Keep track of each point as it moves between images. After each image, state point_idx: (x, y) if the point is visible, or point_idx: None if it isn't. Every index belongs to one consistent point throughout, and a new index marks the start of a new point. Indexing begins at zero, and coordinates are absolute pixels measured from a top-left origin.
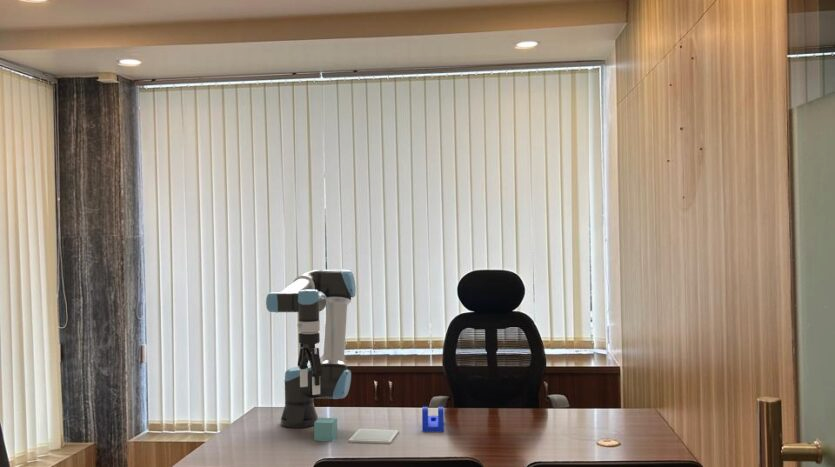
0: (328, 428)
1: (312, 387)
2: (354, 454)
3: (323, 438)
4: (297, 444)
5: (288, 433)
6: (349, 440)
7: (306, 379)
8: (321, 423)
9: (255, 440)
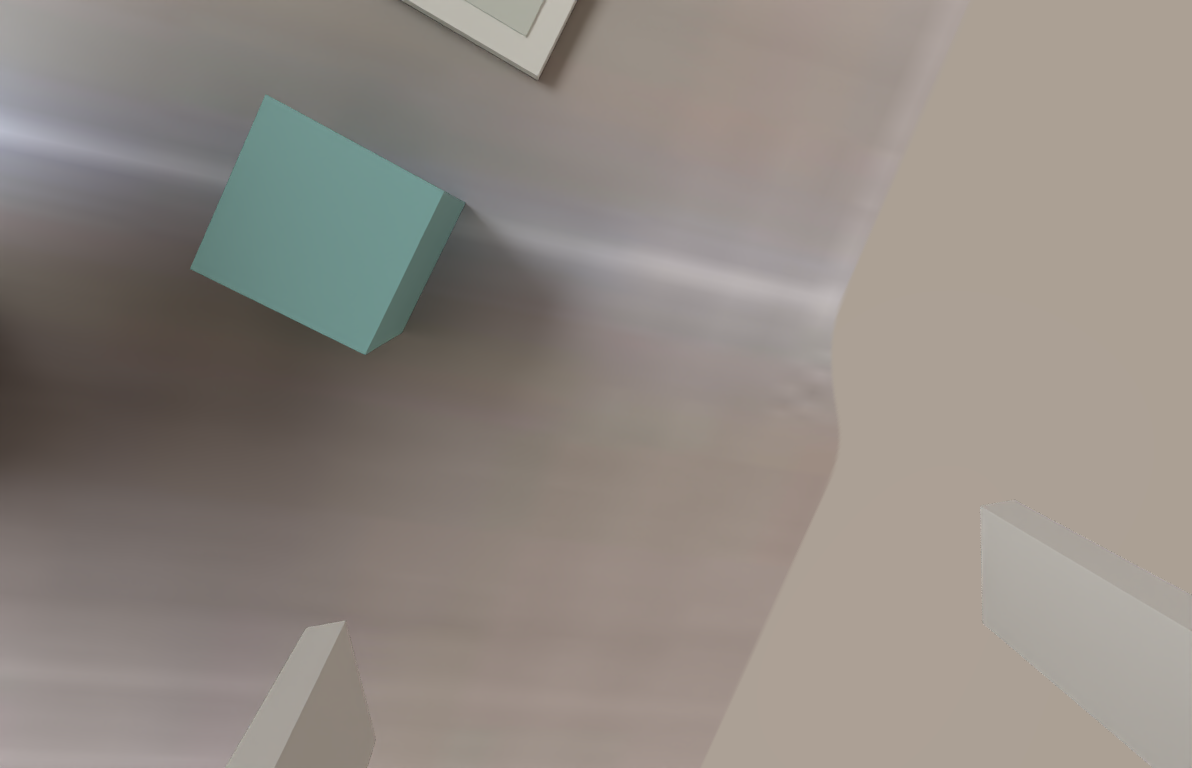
0: (436, 227)
1: (1085, 700)
2: (865, 125)
3: (430, 267)
4: (468, 465)
5: (134, 485)
6: (540, 70)
7: (307, 738)
8: (399, 289)
9: None
